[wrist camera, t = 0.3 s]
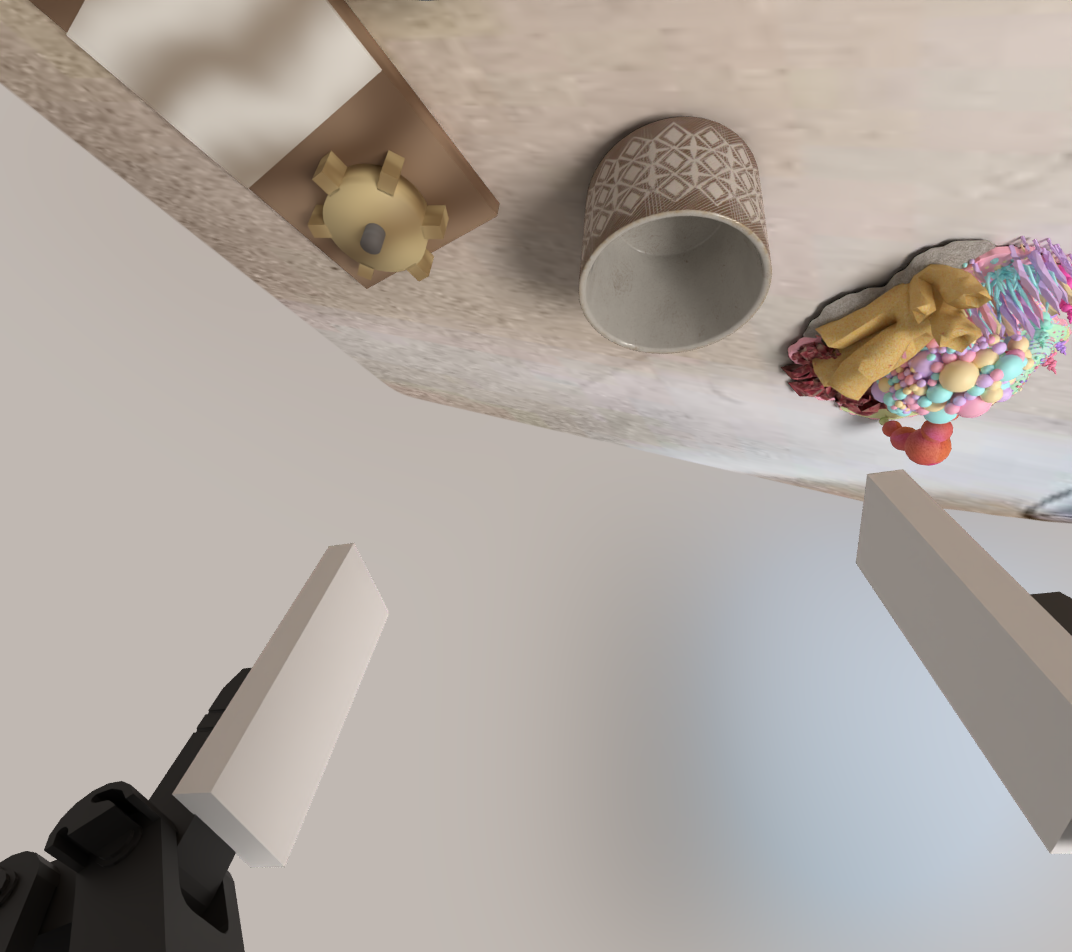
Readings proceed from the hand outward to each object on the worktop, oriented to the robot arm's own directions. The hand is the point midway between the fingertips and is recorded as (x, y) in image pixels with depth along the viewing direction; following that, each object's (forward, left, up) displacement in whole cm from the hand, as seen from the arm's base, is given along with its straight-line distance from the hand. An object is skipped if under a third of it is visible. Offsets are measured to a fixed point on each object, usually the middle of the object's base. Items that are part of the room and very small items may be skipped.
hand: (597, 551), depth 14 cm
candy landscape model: (+41, +13, -34) cm, 55 cm away
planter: (+14, -3, -34) cm, 37 cm away
